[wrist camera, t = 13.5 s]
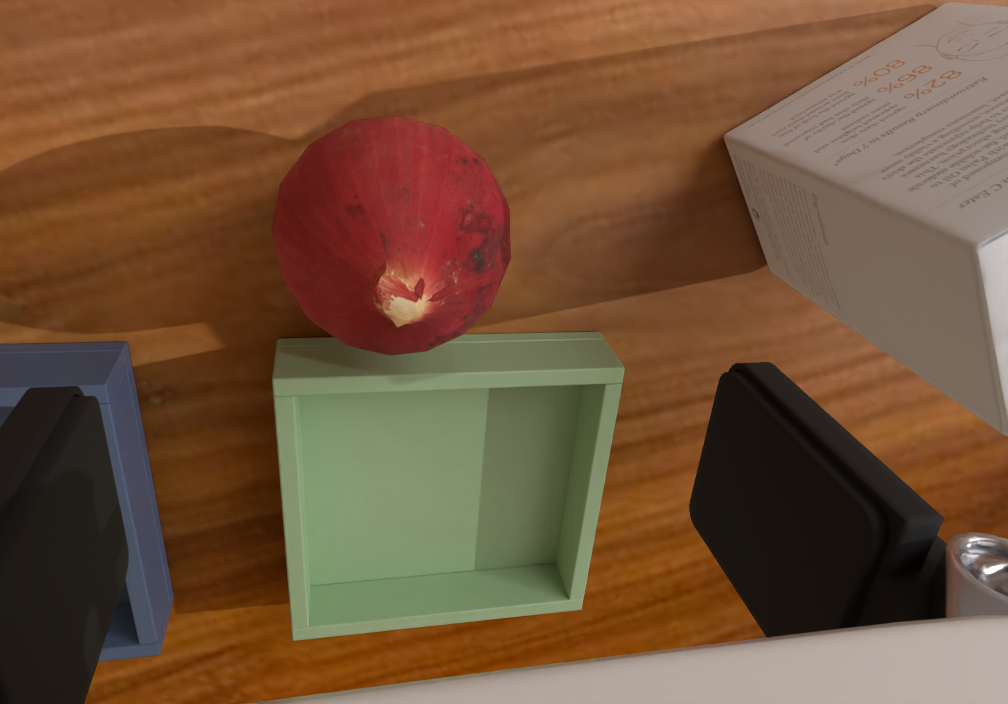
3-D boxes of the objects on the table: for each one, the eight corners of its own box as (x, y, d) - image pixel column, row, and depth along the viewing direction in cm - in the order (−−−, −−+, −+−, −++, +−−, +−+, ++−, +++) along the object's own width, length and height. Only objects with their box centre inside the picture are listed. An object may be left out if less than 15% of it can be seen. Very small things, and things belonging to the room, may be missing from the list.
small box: (764, 272, 26) (1001, 450, 17) (715, 131, 23) (969, 252, 14) (974, 155, 25) (1336, 272, 16) (950, -6, 22) (1374, 27, 13)
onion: (476, 83, 21) (549, 152, 14) (488, 273, 23) (553, 407, 17) (263, 101, 20) (228, 184, 13) (302, 296, 23) (290, 448, 16)
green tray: (277, 337, 23) (271, 379, 21) (600, 330, 25) (626, 367, 23) (295, 586, 28) (292, 641, 26) (563, 561, 30) (581, 610, 28)
